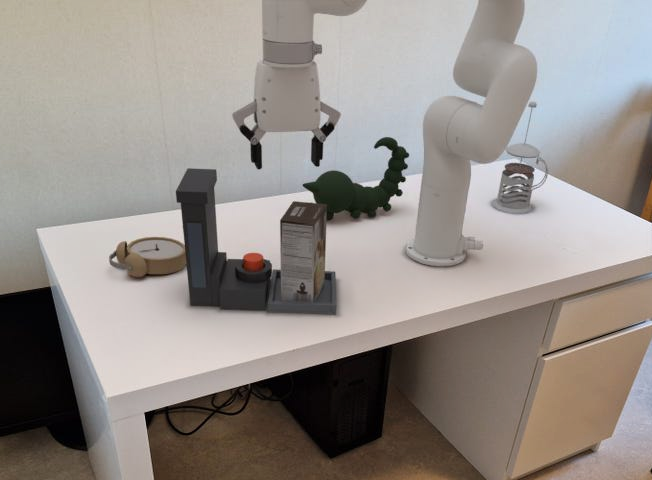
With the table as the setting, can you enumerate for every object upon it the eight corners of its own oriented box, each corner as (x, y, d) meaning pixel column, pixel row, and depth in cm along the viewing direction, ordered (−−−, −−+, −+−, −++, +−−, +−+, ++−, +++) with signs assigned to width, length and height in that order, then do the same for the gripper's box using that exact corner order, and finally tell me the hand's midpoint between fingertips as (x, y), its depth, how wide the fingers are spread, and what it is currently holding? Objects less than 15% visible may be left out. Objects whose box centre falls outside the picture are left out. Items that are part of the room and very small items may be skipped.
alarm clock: (197, 254, 129) (121, 259, 120) (195, 277, 131) (120, 283, 122) (173, 233, 136) (100, 236, 127) (171, 256, 139) (99, 260, 130)
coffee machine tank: (228, 279, 127) (222, 169, 115) (220, 308, 118) (213, 192, 106) (197, 278, 127) (187, 168, 115) (187, 307, 118) (175, 190, 106)
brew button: (264, 263, 121) (264, 252, 120) (262, 272, 118) (262, 261, 117) (244, 262, 121) (244, 252, 120) (242, 271, 118) (242, 261, 117)
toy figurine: (385, 209, 164) (291, 212, 154) (399, 131, 154) (299, 129, 144) (404, 224, 157) (306, 228, 147) (419, 143, 147) (315, 142, 137)
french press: (490, 197, 170) (509, 94, 155) (536, 201, 169) (560, 98, 154) (493, 211, 162) (513, 105, 147) (541, 216, 161) (566, 109, 146)
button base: (274, 279, 128) (273, 251, 125) (269, 311, 118) (269, 281, 115) (228, 278, 128) (227, 249, 124) (220, 309, 118) (218, 280, 114)
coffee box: (292, 279, 127) (293, 199, 118) (325, 284, 126) (328, 203, 117) (279, 302, 120) (279, 219, 110) (314, 307, 119) (316, 223, 110)
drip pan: (335, 280, 129) (335, 271, 128) (335, 315, 118) (336, 305, 117) (272, 278, 128) (272, 269, 127) (267, 313, 118) (267, 303, 117)
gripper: (336, 48, 105) (331, 156, 114) (226, 48, 100) (231, 160, 110) (350, 57, 99) (343, 170, 108) (234, 57, 94) (238, 175, 104)
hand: (286, 165), depth 109 cm, fingers open, 9 cm apart
